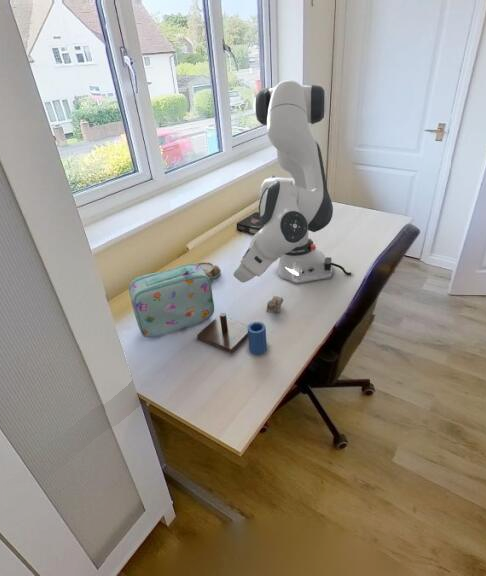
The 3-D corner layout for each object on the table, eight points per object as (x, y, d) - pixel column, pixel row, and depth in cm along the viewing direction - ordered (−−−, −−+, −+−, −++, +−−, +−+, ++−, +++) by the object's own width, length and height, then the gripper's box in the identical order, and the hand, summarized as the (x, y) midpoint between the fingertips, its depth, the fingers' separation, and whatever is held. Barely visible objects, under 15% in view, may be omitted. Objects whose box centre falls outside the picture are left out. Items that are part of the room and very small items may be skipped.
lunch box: (210, 304, 146) (202, 253, 134) (220, 319, 138) (212, 266, 126) (137, 327, 136) (122, 274, 124) (144, 344, 129) (128, 290, 117)
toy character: (266, 317, 141) (262, 309, 136) (275, 299, 145) (271, 290, 140) (276, 320, 140) (273, 312, 135) (285, 302, 143) (281, 293, 138)
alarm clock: (198, 260, 168) (225, 263, 160) (201, 270, 170) (228, 273, 162) (180, 272, 160) (208, 276, 152) (184, 283, 162) (211, 287, 154)
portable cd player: (236, 230, 197) (235, 223, 195) (256, 218, 209) (256, 211, 207) (263, 238, 189) (262, 230, 187) (282, 225, 201) (282, 218, 199)
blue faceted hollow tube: (269, 346, 125) (268, 325, 120) (260, 357, 122) (259, 335, 117) (255, 341, 128) (254, 319, 123) (246, 351, 124) (244, 329, 119)
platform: (253, 332, 132) (251, 310, 127) (231, 354, 123) (228, 332, 118) (220, 319, 138) (217, 298, 133) (197, 339, 130) (193, 318, 125)
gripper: (280, 209, 107) (261, 225, 120) (238, 265, 100) (223, 276, 112) (297, 224, 109) (277, 239, 121) (257, 280, 101) (240, 289, 114)
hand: (250, 257), depth 117 cm, fingers open, 8 cm apart
